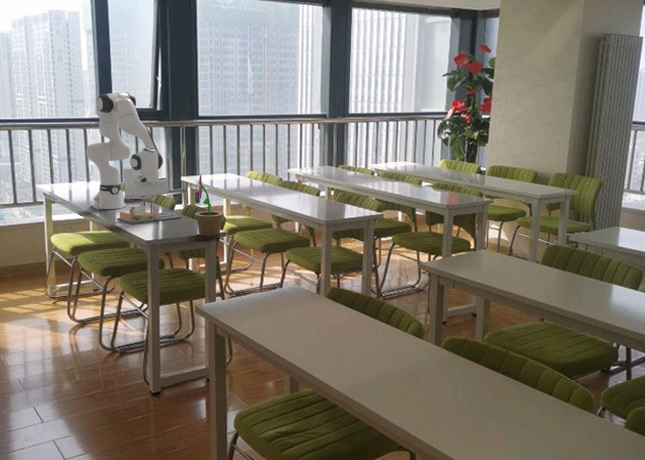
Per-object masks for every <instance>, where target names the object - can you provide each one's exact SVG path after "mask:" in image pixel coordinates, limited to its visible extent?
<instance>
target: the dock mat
mask: <svg viewBox="0 0 645 460" xmlns="http://www.w3.org/2000/svg"><path fill="white" fill-rule="evenodd" d="M169 214H171V213H170V212H169ZM163 215H167V214H163ZM156 216H159V215H156ZM179 218H180V219H181V218H182V216H180V215H177V214H175V216H168V217H160V218H156V220H154V219H152V220H144V221H136V222H128V221H125V220H122V219H120V217H117V218H116V220H117V221H119V222H122V223H125V224H128V225H132V226H133V225H140V224H147V223H154V222H163V221H171V220H177V219H179Z"/></svg>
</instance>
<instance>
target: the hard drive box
mask: <svg viewBox="0 0 645 460" xmlns="http://www.w3.org/2000/svg"><path fill="white" fill-rule="evenodd" d="M140 175H142V171H137V170H134V169H133V168H132V167H126V168H124V169H123V179H124V180H123V181H124V200H130V199H143V198H145V199H147V197H146V196H134V195H133V184H134V183H135V182H134V178H135V177H138V176H140ZM152 197H153V196H152V195H150V197H149V198H150V199H152Z"/></svg>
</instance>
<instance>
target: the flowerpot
mask: <svg viewBox="0 0 645 460" xmlns="http://www.w3.org/2000/svg"><path fill="white" fill-rule="evenodd" d="M198 184H199V185H198V191H199V192H198V193H199V199H200V200H201V199H202V195H203V191H204V193H205V195H206V198H205V199H204V200H203V202H202V204H204V205H207V211H197V212H195V213H194V218H195V220H196V222H197V227H198V228H197V229H198V234H199V235H200V234H201V235H200V236H205V237H206V236H207V237H208V236H209V237H210V236H211V237H212V236H218V235H220V234H221V227H222V226H221V224H222V219H224V213H223V212H221V211H217V210H216V211H214V210H213V211H212V210H211V208H212V204H211V202H210V197H209V196H210V195H209V193H208V192H207V190H206V187H204V185H203V180H202V174H201V173H200V174H199V179H198Z"/></svg>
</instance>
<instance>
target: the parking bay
mask: <svg viewBox="0 0 645 460" xmlns="http://www.w3.org/2000/svg"><path fill="white" fill-rule="evenodd" d="M140 205H141V206H143V202H140ZM156 207H157V206H152V210H153V214H154V218H150V219H142V220H134V221H133V219H135V218H133V216H132V214H130V212H126V211H123V210H122V211H119V218H120V219H122V220H125V221H128V222H136V221H144V220H152V219H154V220H156V213H157V209H156Z"/></svg>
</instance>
